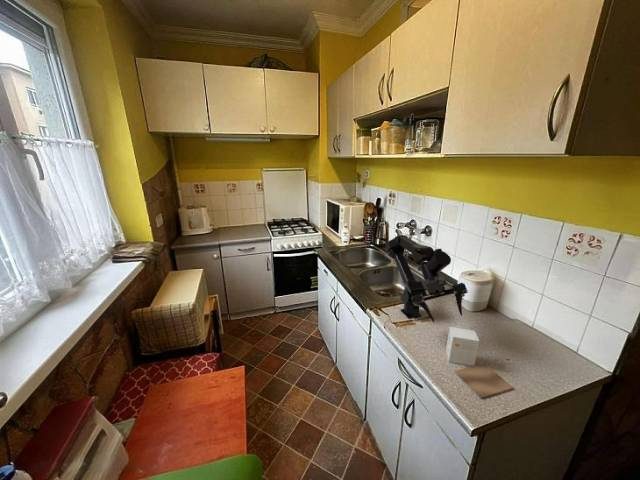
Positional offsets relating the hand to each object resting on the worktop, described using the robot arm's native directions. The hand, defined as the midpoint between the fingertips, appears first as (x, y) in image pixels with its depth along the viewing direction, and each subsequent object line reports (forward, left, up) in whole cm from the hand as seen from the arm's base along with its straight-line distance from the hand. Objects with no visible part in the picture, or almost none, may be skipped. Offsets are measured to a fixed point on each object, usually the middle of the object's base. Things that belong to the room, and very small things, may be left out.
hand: (447, 318), depth 89 cm
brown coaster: (+15, +3, -13) cm, 20 cm away
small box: (+5, +3, -13) cm, 15 cm away
